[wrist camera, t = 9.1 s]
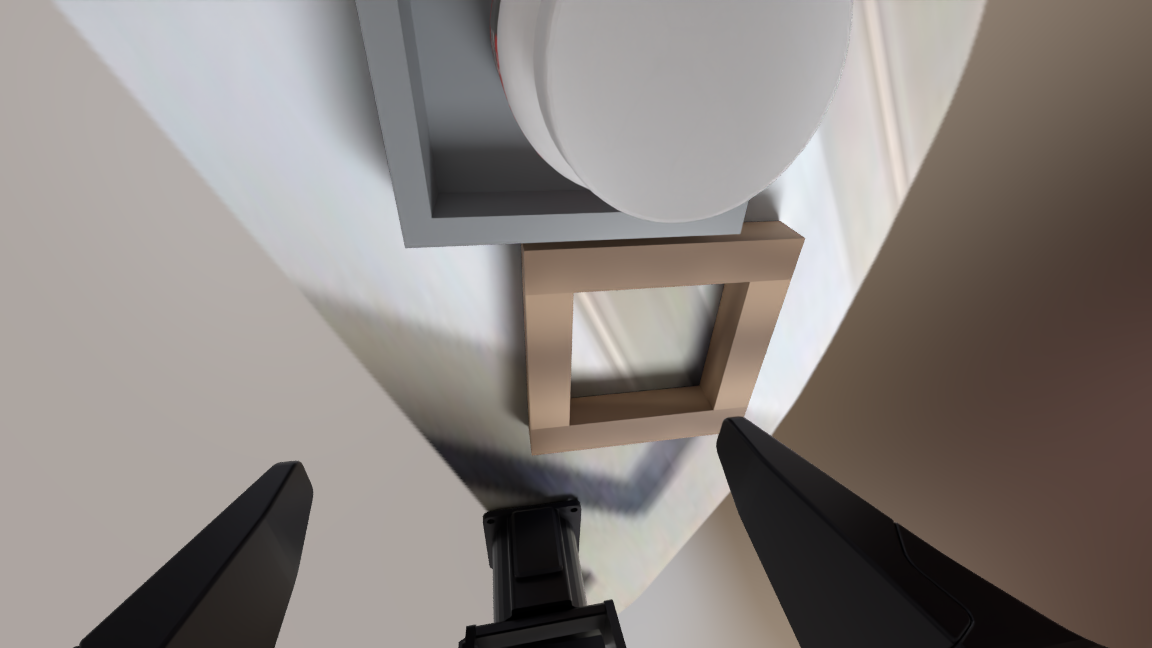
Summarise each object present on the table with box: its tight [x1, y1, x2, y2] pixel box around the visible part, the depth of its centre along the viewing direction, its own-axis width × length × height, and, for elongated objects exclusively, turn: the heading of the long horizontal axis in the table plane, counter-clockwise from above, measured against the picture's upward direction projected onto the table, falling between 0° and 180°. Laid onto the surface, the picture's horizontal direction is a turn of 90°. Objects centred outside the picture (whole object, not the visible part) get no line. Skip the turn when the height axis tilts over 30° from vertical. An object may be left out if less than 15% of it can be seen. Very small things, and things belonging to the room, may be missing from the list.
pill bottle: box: [490, 0, 853, 223], centre depth 10 cm, size 6×6×10 cm
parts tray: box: [355, 0, 749, 248], centre depth 14 cm, size 12×12×4 cm
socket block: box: [521, 221, 805, 455], centre depth 22 cm, size 12×12×2 cm
